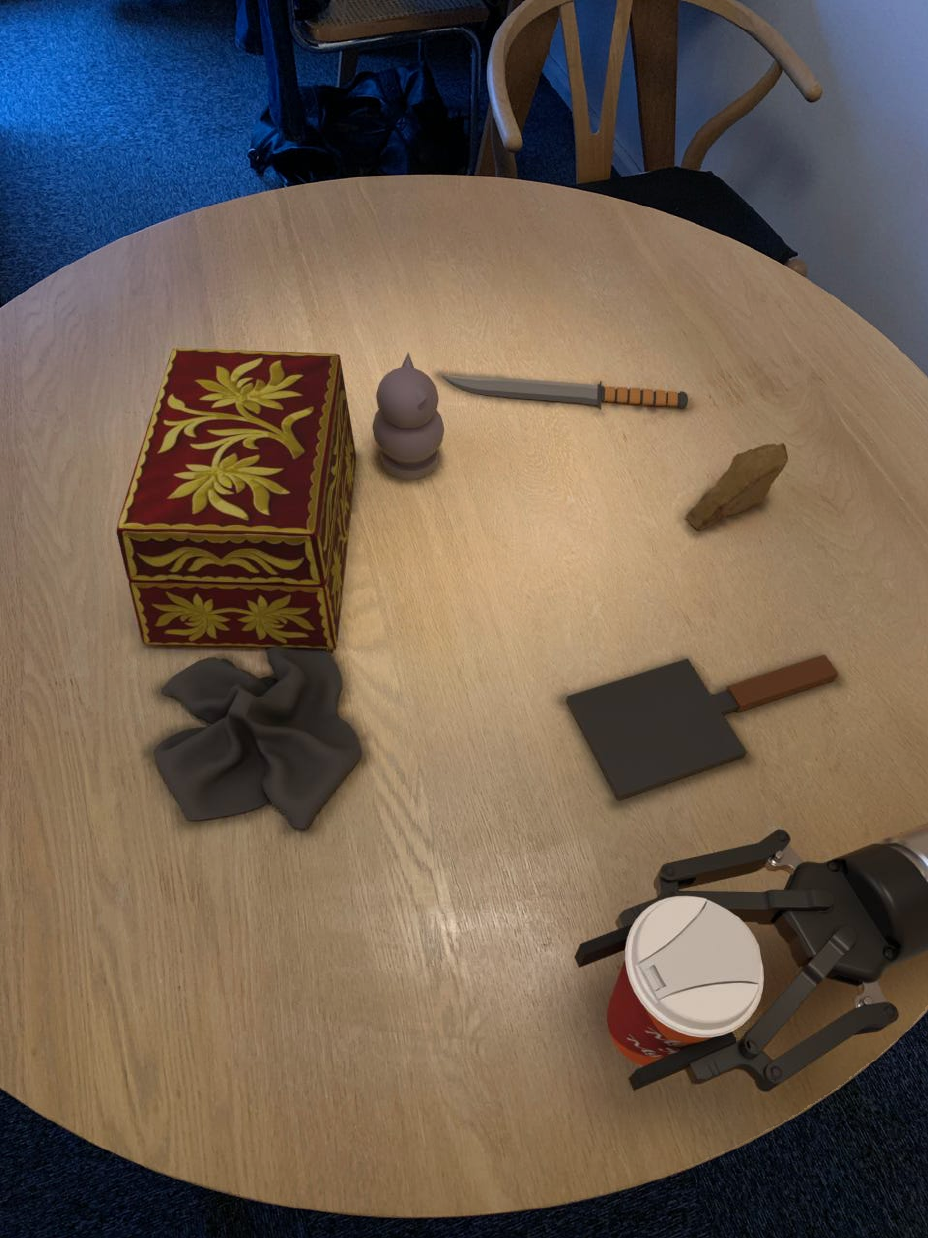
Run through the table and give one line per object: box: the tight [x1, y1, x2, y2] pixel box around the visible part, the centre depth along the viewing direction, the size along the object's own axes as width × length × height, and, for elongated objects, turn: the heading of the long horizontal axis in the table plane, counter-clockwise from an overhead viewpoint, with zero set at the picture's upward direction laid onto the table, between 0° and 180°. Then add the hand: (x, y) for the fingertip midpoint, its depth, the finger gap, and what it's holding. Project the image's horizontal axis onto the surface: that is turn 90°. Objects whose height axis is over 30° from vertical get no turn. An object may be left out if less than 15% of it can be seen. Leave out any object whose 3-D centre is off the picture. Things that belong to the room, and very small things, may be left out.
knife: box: [441, 374, 689, 410], centre depth 114 cm, size 30×1×5 cm
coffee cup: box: [606, 896, 765, 1067], centre depth 60 cm, size 8×8×15 cm
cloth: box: [153, 647, 363, 830], centre depth 83 cm, size 22×19×6 cm
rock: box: [685, 442, 789, 531], centre depth 102 cm, size 11×9×10 cm
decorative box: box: [116, 348, 357, 650], centre depth 92 cm, size 28×19×15 cm
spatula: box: [566, 654, 840, 801], centre depth 88 cm, size 11×26×1 cm, turn 111°
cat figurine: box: [372, 352, 445, 481], centre depth 102 cm, size 8×8×12 cm
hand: (606, 1016), depth 58 cm, fingers closed on coffee cup, 7 cm apart
